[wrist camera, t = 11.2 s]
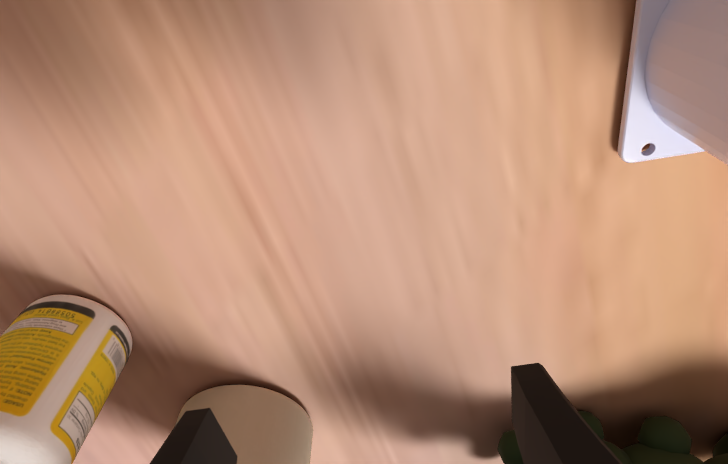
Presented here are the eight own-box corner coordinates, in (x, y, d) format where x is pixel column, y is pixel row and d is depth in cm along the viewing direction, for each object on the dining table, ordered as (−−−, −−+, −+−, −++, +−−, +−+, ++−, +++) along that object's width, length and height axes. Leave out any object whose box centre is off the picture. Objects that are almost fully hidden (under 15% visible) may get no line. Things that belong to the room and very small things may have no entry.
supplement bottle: (2, 321, 24) (-189, 531, 15) (68, 272, 22) (-106, 478, 14) (92, 379, 26) (-32, 586, 18) (158, 339, 24) (55, 547, 16)
